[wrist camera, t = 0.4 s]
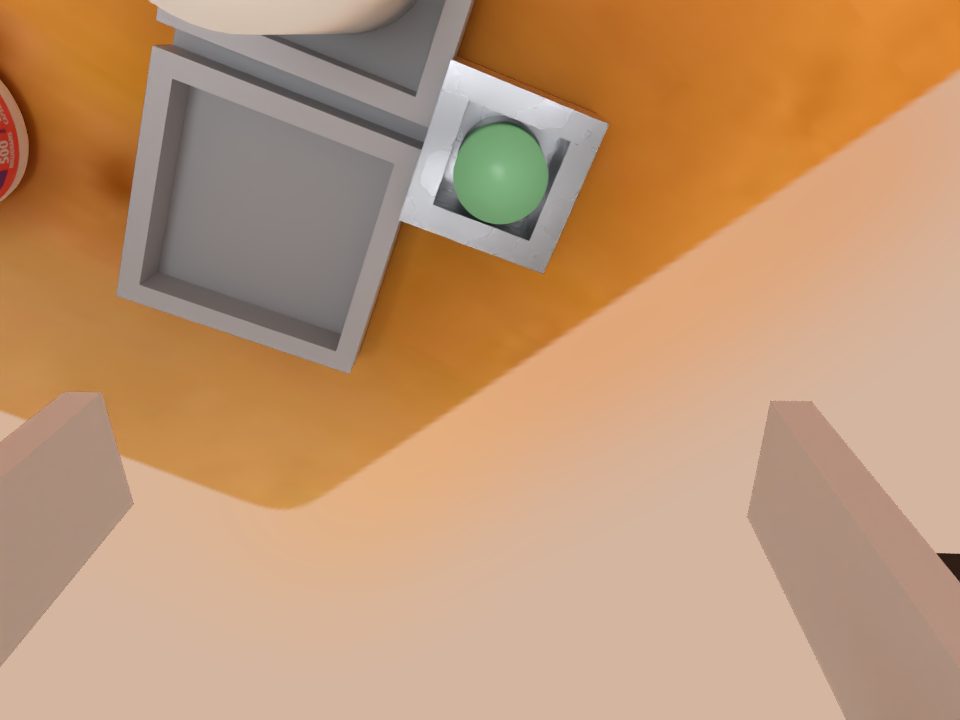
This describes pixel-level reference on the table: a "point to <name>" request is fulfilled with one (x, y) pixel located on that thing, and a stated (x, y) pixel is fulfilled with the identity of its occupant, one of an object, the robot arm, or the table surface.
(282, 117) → the grey compartment tray
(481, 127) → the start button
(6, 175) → the pill bottle
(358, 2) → the billet
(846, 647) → the robot arm
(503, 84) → the grey square open box
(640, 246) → the table surface
